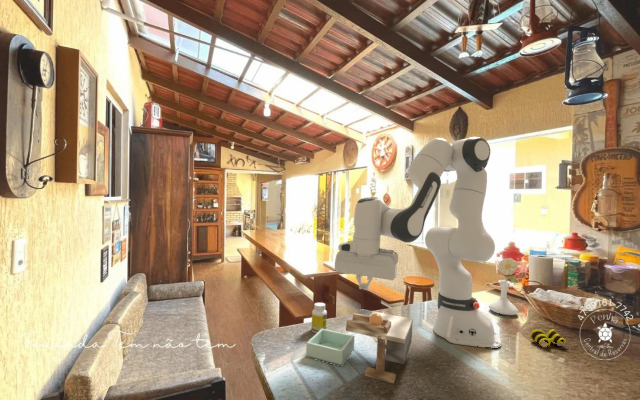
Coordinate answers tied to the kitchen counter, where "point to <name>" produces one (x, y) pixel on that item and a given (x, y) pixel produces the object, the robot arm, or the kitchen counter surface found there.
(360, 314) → the lever
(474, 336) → the robot arm
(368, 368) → the lever stand
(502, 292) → the flower in vase
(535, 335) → the yellow black striped piece
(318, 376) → the kitchen counter surface
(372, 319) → the ball
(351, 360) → the kitchen counter surface
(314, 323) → the supplement bottle
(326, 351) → the green square tray
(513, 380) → the kitchen counter surface
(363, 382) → the kitchen counter surface
